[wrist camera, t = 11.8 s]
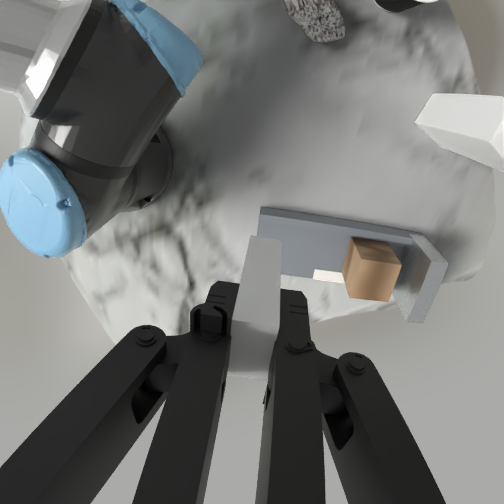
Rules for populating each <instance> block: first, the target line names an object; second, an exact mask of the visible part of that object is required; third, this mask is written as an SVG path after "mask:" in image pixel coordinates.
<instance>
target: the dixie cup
mask: <svg viewBox="0 0 504 504" xmlns="http://www.w3.org/2000/svg"><path fill="white" fill-rule="evenodd" d="M436 1H438V0H374V2H375V4H376V5H377V6H378V7H380V8H381V9H383V10H385V11H387V12H401V11H404V10H406V9H409V8H412V7H415V6H418V5H420V4H423V3H432V2H436Z"/></svg>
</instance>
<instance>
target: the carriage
mask: <svg viewBox="0 0 504 504" xmlns="http://www.w3.org/2000/svg"><path fill="white" fill-rule="evenodd" d="M401 266H402V264H401V263H400V261H399V260H398V258H397V257H396V255H395V254H394V252H393V251H392V249H391V248H390V246H389V245H388V243H385V242H379V241H373V240H367V239H361V238H355V237H351V239H350V243H349V246H348V250H347V254H346V258H345V261H344V265H343V269H342V275H343V278H344V281H345V285H346V288H347V291H348V295H349V298H357V299H365V300H374V301H384V302H388V301H389V299H390V296H391V294H392V291H393V288H394V286H395V283H396V280H397V278H398V275H399V272H400V269H401Z"/></svg>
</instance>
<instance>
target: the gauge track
mask: <svg viewBox="0 0 504 504" xmlns="http://www.w3.org/2000/svg"><path fill="white" fill-rule="evenodd" d="M410 234H414V235H419V236H423V234H422V233H417V232H412V231H406V230H401V229H396V228H390V227H385V226H379V225H374V224H368V223H362V222H357V221H351V220H345V219H339V218H333V217H327V216H320V215H314V214H307V213H301V212H294V211H287V210H280V209H273V208H266V207H261V209H260V214H259V224H258V232H257V236H258V237H265V238H273V239H280V240H281V274H283V275H290V276H298V277H305V278H313V279H315V280H323V281H331V282H338V283H345V281H344V278H343V275H342V269H343V265H344V261H345V258H346V254H347V250H348V246H349V243H350V239H351V237H355V238H361V239H367V240H373V241H379V242H385V243H388V245H389V246H390V248H391V249H392V251H393V252H394V254H395V255H396V257H397V258H398V260H399V261H400V259H401V256H402V253H403V250H404V247H405V244H409V245H411V244H412V241H413V238H412V237H411V236H410Z"/></svg>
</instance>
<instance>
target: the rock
mask: <svg viewBox="0 0 504 504" xmlns="http://www.w3.org/2000/svg"><path fill="white" fill-rule="evenodd" d="M283 2H284V4H285V6H286V9H287V12H288V15H289V16H290V17H291V18H293V19H294V20H295V22H296V23H297V24H298V25H299V26H300V27H301V28H302V29H303V31H304V32H305V34H306V35H307V36H308V37H309V38H310V39H312V41H314V42H330V41H335V40H338V39H340V38H343V37H344V35H345V28H346V27H345V22H344V20H343V16H342V14H341V13H340V11H339V8H338V6H337V4H336V3H335V2H334V0H283Z"/></svg>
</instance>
